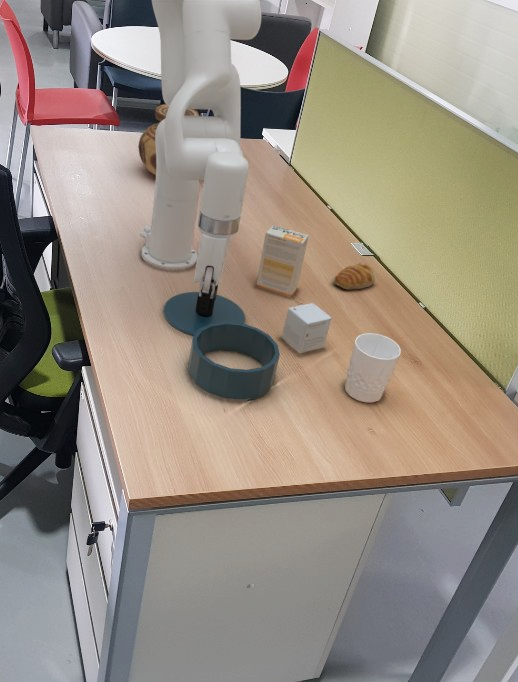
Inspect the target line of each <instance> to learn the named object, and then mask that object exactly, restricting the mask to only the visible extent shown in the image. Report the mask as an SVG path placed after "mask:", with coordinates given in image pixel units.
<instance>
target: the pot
mask: <svg viewBox="0 0 518 682" xmlns="http://www.w3.org/2000/svg"><path fill="white" fill-rule="evenodd" d="M218 351H225V352H236V353H238V354H243V355H245V356H249V357H251V358H252V359H253V360H255V361H257V362H258V363H260V364H261V365H262V366H261V367H255V368H249V369H244V368H231V367H228V366H225V365H223V364H220V363H215V361H212V360H211V359H210V358H208V357H207V356H205V354H208V353H211V352H212V353H213V352H218ZM280 353H281V352H280V348H279V345H278V343H277V342H276V341H275V340H274V339H273V338H272V336H271V335H270V334H268V333H266V332H265V331H263V330H262V329H259V328H258V327H256V326H252V325H248V324H246V323H244V324H243V323H235V322H219V323H211V324H208V325H206V326H204V327H202V328H200V329H198V331H197V332H196V333H195V335H194V336H192V339H191V344H190V351H189V358H188V375H189V377H190V378H191V379H192V381H193V382H194V384H195V385H196V386H198V387H199V388H201V389H202V390H203V391H205V392H206V393H208V394H211V395H214V396H217V397H220V398H223V399H227V400H241V401H244V400H246V402H250V401H255V400H258V399H260V398H261V397H262V398H263V396H265V395H266V394H268V393H269V392H270V390H271V389H272V386H273V384H274V381H275V377H276V374H277V373H276V372H277V368H278V364H279V360H280V356H281V354H280Z"/></svg>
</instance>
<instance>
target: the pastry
mask: <svg viewBox="0 0 518 682" xmlns="http://www.w3.org/2000/svg"><path fill="white" fill-rule="evenodd" d="M375 282H376V278H375V274H374V271H373V268H372V267H371V266H370V265H368V264H366V263H362V262H361V263H360V262H359V263H357V264H353V265H349V266H346V267H345V268H343V269H342V270H341V271H340V272H338V274H337V275H336V276H335V278H334V285H336V286H338V287H340V288H342V289H344V290H347V291H349V290H350V291H352V290H361V289H365V288H368V287H371V286H372V285H373V284H375Z"/></svg>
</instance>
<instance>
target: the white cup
mask: <svg viewBox="0 0 518 682" xmlns="http://www.w3.org/2000/svg"><path fill="white" fill-rule="evenodd" d="M401 353H402V350H401V347H400V345H399V344H398V343H397V342H396V341H395V340H393V339H392V338H390V337H388V336H386V335H384V334H380V333H373V332H372V333H371V332H368V333H367V332H366V333H362V334H359V335H358V336H357V337H356V338H355V339H354V344H353V347H352V352H351V356H350V359H349V364H348V369H347V374H346V380H345V383H344V389H345V392H346V393H347V394H348V396H349V397H351V398H353V399H354V400H356V401H358V402H362V403H368V404H369V403H376V402H379V401H380V400H381V399H382V397H383V395H384V393H385V390H386V388H387V386H388V384H389V382H390V380H391V377H392V376H393V373H394V371H395V369H396V367H397V363H398V361H399V359H400V356H401Z"/></svg>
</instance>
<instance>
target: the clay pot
mask: <svg viewBox="0 0 518 682" xmlns="http://www.w3.org/2000/svg"><path fill="white" fill-rule="evenodd" d="M168 108H169V106H168V105H167V104H166V103H163V104H161V105H158V106H156V107H155V109H154V117H155V120H157V121H159V122H157V123H153V124H152V125H150V126H148V127H147V128H146V129H145V130H144V131H143V132H142V134H141V136H140V137H139V141H138V154H139V158H140V160H141V162H142V165H143V166H144V167H145V168H146V170H148V171H149V172H150V173H151V174H153V175H154V176H156V165H157V164H156V142H155V135H156V129H157V126H158V125H159V123H160V122H161V121H162V120H164V119H166V114H167V111H168ZM184 116H200V114H199V112H198V111H197V109H186V111H185V114H184Z"/></svg>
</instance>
